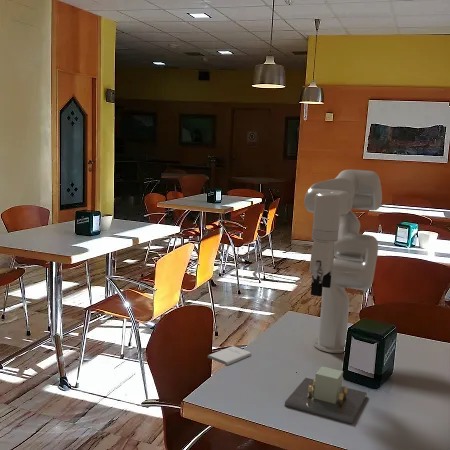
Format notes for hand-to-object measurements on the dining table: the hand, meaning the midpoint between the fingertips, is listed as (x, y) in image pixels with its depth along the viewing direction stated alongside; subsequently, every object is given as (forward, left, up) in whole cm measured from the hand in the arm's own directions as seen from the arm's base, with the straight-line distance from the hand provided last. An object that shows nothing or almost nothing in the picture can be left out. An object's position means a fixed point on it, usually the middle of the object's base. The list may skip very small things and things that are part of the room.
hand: (320, 291), depth 161 cm
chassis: (+14, +8, -27) cm, 31 cm away
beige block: (+14, +8, -25) cm, 30 cm away
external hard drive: (+1, -28, -27) cm, 39 cm away
